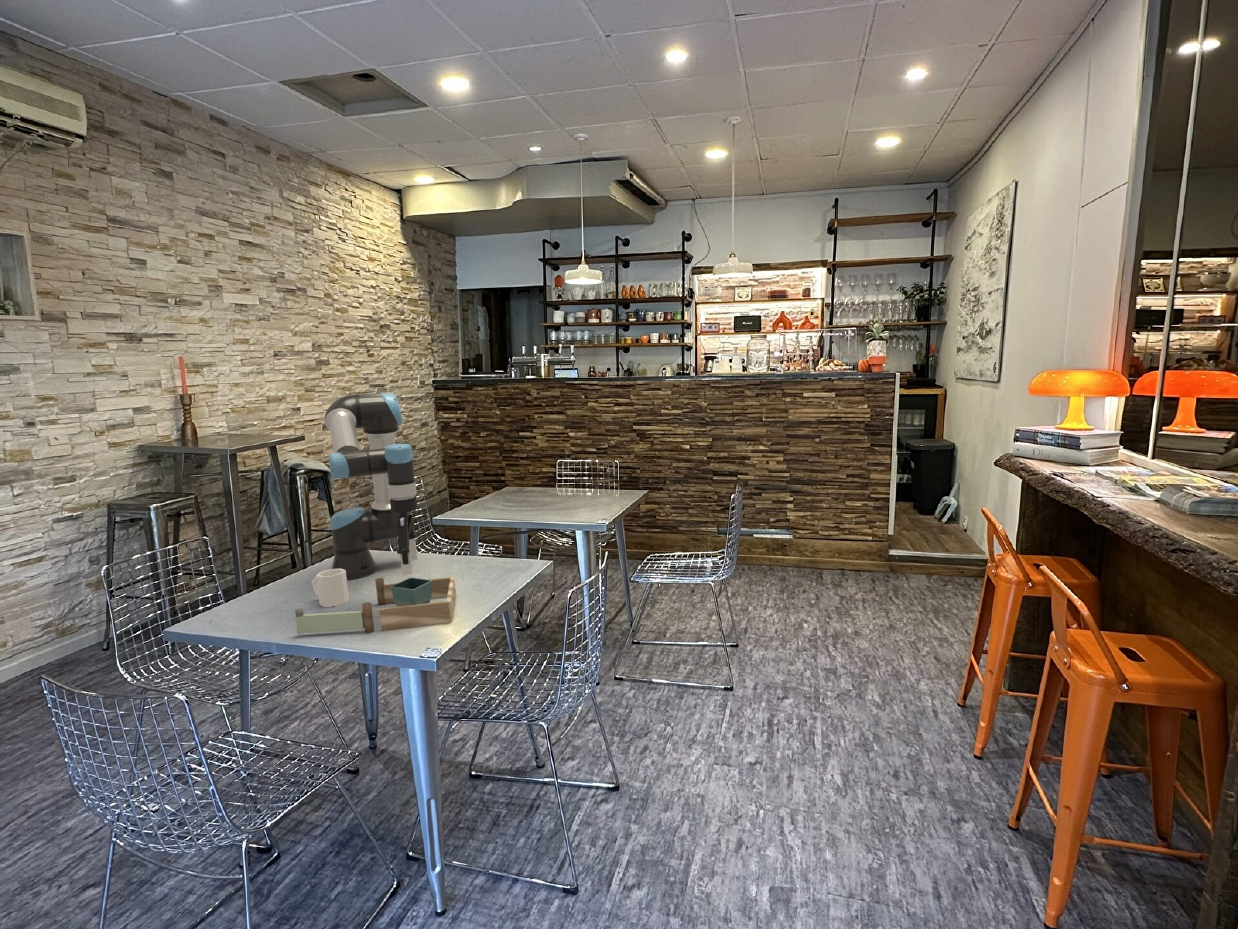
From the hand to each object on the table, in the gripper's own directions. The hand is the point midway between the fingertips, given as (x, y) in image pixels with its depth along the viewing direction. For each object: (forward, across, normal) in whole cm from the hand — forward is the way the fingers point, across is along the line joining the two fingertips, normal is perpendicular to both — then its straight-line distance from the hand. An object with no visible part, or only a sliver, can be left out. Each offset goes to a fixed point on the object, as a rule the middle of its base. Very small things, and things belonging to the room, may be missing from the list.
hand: (409, 566), depth 192 cm
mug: (+15, -17, -28) cm, 36 cm away
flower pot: (+14, 0, 0) cm, 14 cm away
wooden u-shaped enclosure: (+14, +1, 0) cm, 14 cm away
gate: (+13, +10, -21) cm, 27 cm away
